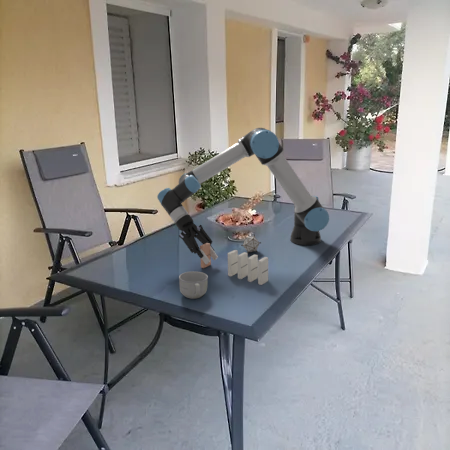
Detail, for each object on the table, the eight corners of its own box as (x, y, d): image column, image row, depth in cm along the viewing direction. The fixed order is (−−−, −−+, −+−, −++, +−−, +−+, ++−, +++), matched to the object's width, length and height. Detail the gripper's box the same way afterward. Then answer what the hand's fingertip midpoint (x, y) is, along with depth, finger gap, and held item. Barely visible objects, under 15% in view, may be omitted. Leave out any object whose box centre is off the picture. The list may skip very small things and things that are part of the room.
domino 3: (237, 278, 180) (237, 255, 177) (244, 274, 184) (244, 252, 181) (241, 279, 179) (240, 256, 176) (248, 275, 183) (247, 252, 180)
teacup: (180, 290, 171) (179, 271, 169) (208, 288, 172) (207, 269, 170) (179, 306, 158) (178, 286, 155) (209, 304, 159) (208, 284, 156)
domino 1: (200, 267, 192) (199, 246, 189) (208, 263, 195) (207, 242, 192) (203, 268, 191) (202, 246, 188) (211, 264, 194) (210, 243, 191)
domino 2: (228, 275, 183) (227, 253, 180) (235, 271, 187) (234, 249, 184) (231, 276, 182) (230, 254, 179) (238, 272, 186) (237, 250, 183)
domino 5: (258, 284, 174) (257, 260, 171) (264, 279, 178) (264, 256, 175) (261, 285, 173) (261, 261, 170) (268, 280, 177) (268, 257, 174)
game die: (254, 260, 208) (259, 248, 200) (237, 253, 209) (241, 241, 201) (259, 246, 214) (264, 234, 206) (243, 239, 215) (247, 227, 207)
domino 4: (247, 281, 177) (247, 258, 174) (254, 276, 181) (254, 254, 178) (251, 282, 176) (250, 259, 173) (258, 277, 180) (257, 255, 177)
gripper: (191, 218, 204) (220, 258, 199) (163, 228, 190) (194, 272, 185) (199, 209, 199) (229, 250, 194) (171, 218, 186) (203, 262, 181)
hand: (212, 260), depth 190 cm, fingers closed on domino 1, 5 cm apart
